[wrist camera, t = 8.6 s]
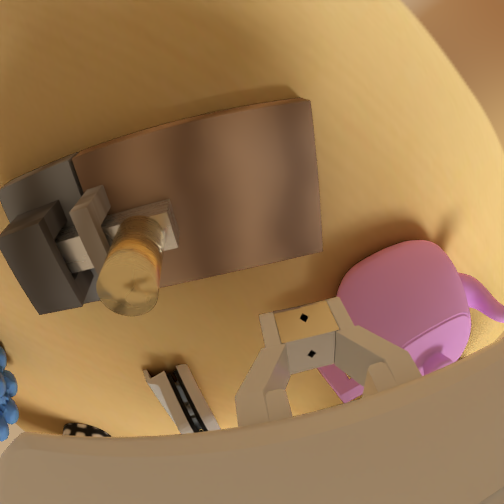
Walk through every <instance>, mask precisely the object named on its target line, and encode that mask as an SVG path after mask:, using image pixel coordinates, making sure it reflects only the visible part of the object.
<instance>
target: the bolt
mask: <svg viewBox="0 0 504 504" xmlns="http://www.w3.org/2000/svg"><path fill="white" fill-rule="evenodd" d="M101 227H102V230H103V232H104V234H105V237H106V239H107V241H108V244H109V246H110V249H109V251H108V254H107V256H106V259H105V261H104V264H103V267H102V269H101V272H100V274H99V277H98V280H97V284H96V290H97V294H98V297H99V299H100V300H101V302H102V303H103V304H104V305H105V306H106V307H107V308H109V309H110V310H112V311H114V312H116V313H118V314H121V315H126V316H138V315H142V314H145V313H147V312H149V311H150V310H151V309H152V308H153V307H154V306H155V304H156V302H157V299H158V292H159V284H160V276H161V269H162V261H163V254H164V251H166V250H170V249H175V248H178V245H179V234H180V231H179V228H178V225H177V221H176V218H175V215H174V212H173V208H172V205H171V202H170V199H166V200H162V201H158V202H154V203H151V204H147V205H143V206H139V207H136V208H132V209H128V210H125V211H121V212H118V213H114V214H111V215H107V216H106V217H105V219H104V220H103V222H102V224H101ZM54 241H55V243H56V245H57V247H58V249H59V251H60V253H61V255H62V257H63V259H64V261H65V263H66V265H67V267H68V269H69V270H70V272H71V273H75V272H79V271H83V270H87V269H91V268H94V266H93V264H92V262H91V260H90V258H89V256H88V254H87V252H86V250H85V248H84V245H83V243H82V241H81V239H80V237H79V235H78V232H77V230H76V228H75V225H74V226H71V227H68V228H64V229H61V230H60V231H59V233H58V234H57V236H56V237H55V239H54Z"/></svg>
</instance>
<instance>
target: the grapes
mask: <svg viewBox="0 0 504 504" xmlns="http://www.w3.org/2000/svg"><path fill="white" fill-rule="evenodd" d="M6 363H7V357H6V353H5V351H4V349H3V348H2V347H1V346H0V441H4V440H5V439H7V438H8V435H9V427H8V424H14V423H16V422H17V420H18V418H19V411H18V407H17V405H16V403H15V402H14V401H13V400H12V399H11V397H13V396H15V395H16V393H17V381H16V378H15V377H14V375H13V374H12V373H11V372H10V371H7V370H4V369H5V367H6ZM7 423H8V424H7Z"/></svg>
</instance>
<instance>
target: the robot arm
mask: <svg viewBox="0 0 504 504" xmlns="http://www.w3.org/2000/svg"><path fill="white" fill-rule="evenodd" d="M259 320H260V325H261V329H262V334H263V339H264V344H265V348H261V350H260V352H259V354H258V356H257V358H256V359H255V361H254V363H253V365H252V367H251V369H250V370H249V372H248V374H247V376H246V378H245V379H244V381H243V383H242V385H241V386H240V388H239V390H238V392H237V393H236V395H235V403H236V411H237V420H238V427H235V428H228V429H221V430H214V431H205V432H196V433H186V434H175V435H160V436H138V437H90V436H70V435H56V434H45V433H36V432H24V433H21V434H20V435H19V436H18V437H17V438H16V439H15V440H14V441H13V442H12V443H11V444H10V445H9V446H8V447H7V449H6V450H5V451H4V452H3V454H2V455H1V458H0V504H504V337H503V338H501V339H499V340H498V341H496V342H494V343H492V344H490V345H488V346H486V347H484V348H482V349H480V350H479V351H477V352H475V353H473V354H471V355H468V356H466V357H464V358H462V359H460V360H458V361H456V362H454V363H452V364H449V365H447V366H445V367H443V368H440V369H438V370H436V371H433V372H431V373H429V374H426V375H424V376H422V375H421V373H420V371H419V369H418V368H417V366H416V364H415V362H414V361H413V359H412V357H411V356H410V354H409V352H408V351H406V350H404V349H402V348H400V347H399V346H397V345H395V344H393V343H391V342H389V341H387V340H385V339H383V338H382V337H380V336H378V335H376V334H374V333H372V332H370V331H368V330H366V329H365V328H363V327H361V326H359V325H357V326H354V324H353V322H352V320H351V318H350V316H349V314H348V313H347V311H346V309H345V307H344V305H343V303H342V301H341V299H340V298H339V297H334V298H330V299H326V300H323V301H319V302H314V303H310V304H306V305H302V306H298V307H293V308H288V309H283V310H278V311H273V312H269V313H264V314H259ZM331 364H335V365H336V366H337V367H338V368H339V369H341V370H342V371H343V372H345V373H346V374H347V375H348V376H350V377H351V378H352V379H354V380H355V381H356V382H358V383H359V384H360V385H362V386H363V387H364V390H363V394H362V398H360V399H357V400H354V401H350V402H347V403H344V404H340V405H337V406H333V407H329V408H326V409H322V410H318V411H314V412H310V413H306V414H302V415H298V416H293V417H292V413H291V409H290V405H289V401H288V397H287V393H286V391H285V389H286V386H287V384H288V381H289V378H290V375H291V374H295V373H299V372H303V371H306V370H310V369H314V368H319V367H323V366H327V365H331Z"/></svg>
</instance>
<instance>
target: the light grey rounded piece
mask: <svg viewBox="0 0 504 504" xmlns="http://www.w3.org/2000/svg"><path fill="white" fill-rule="evenodd" d="M176 368H177V370H175V371H174V373H175V375H176V378H177V381H176V383H175V382H174V380H173V378H172V376H171V375H170V373H168V374H166V373H165V371H163V372H161V373H159V374H158V375H156V376H154V377H151V376H150V374H149V372H148V371H147V370H143V373H144V376H145V379H146V381H147V383H148V385H149V386H150V388H151V389H152V391H153V392H154V394H155V395H156V397H157V398H158V400H159V401H160V403H161V404H162V406H163V407H164V409H165V410H166V412H167V413H168V414H169V416H170V417H171V419H172V420H173V421H174V423H175V424H176V426H177V427H178V429H179V431H180V433H181V434H186V433H196V432H203V431H204V432H205V431H214V430H221V429H220V427H219V425H218V423H217V421H216V419H215V417H214V415H213V414H212V412H211V410H210V408H209V406H208V404H207V402H206V401H205V399H204V397H203V395H202V393H201V391H200V389H199V387H198V385H197V383H196V381H195V380H194V378H193V376H192V374H191V372H190V370H189V368H188V366H187V364H181V365H178V366H176ZM199 429H203V431H202V430H200V431H199Z"/></svg>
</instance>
